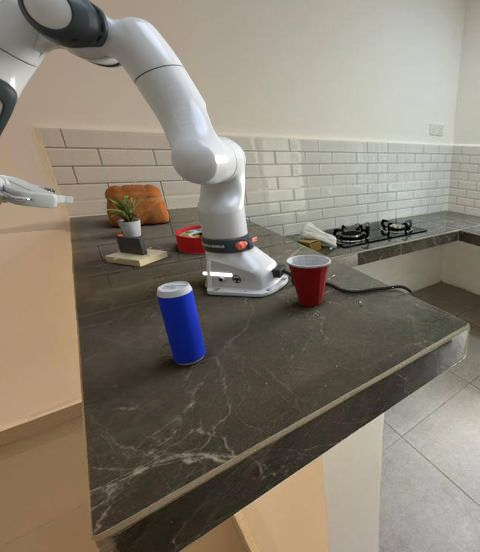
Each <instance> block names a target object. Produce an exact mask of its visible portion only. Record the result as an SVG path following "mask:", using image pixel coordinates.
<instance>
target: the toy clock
mask: <svg viewBox="0 0 480 552" xmlns="http://www.w3.org/2000/svg"><path fill="white" fill-rule="evenodd" d="M174 236H175V239H176V246H177V249H178V251H179V252H181V253H183V254H184V253H185V254H189V255H206V254H205V250H204V249H203V246H202V240H201V236H202V230H201V225H200V224H197V225H192V226H187V227H182V228H180V229H178V230H176V231H175V232H174Z"/></svg>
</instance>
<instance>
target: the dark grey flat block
mask: <svg viewBox="0 0 480 552" xmlns="http://www.w3.org/2000/svg"><path fill="white" fill-rule="evenodd" d="M115 239H116V242H117V246H118V250H119V252H123V253H130V254H137V255H146V254H148V253H147V249H148V248H147V245H146V242H145V237H141V236H138V237H134V236H126V235H124V234H123V233H122V234H121V233H120V234H116V235H115Z"/></svg>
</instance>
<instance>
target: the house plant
mask: <svg viewBox="0 0 480 552" xmlns="http://www.w3.org/2000/svg"><path fill="white" fill-rule="evenodd" d="M128 197H129V196H128V195H127V196H126V197H125V196H124V200H123V203H124V206H123V204H122V203H121V202H120V201H119V200H118V199H116V198H115V200H116V201H117V202H115V201H113V200H111V199H109V200H111V201H112V202H113V203H114V204H115V207H116V206H117V207H118V209H119V210H117V209H116V208H115V209H107V208H106V209H105V208H103V209H102V210H104V211H107V210H110V211H112V212H115V213H116V214H113V213H112V216H111V215H109V216H111V218H112V217H113V216H115V215H116V216H117V215H118V217H119V216H120V218H121V217H122V218H123V219H122V218H121V219H122V220H118V221H117V222H118V224H119V226H120V227H119V228H120V231H121V232H122V235H126V236H134V237H141V236H142V229H141V226H142V225H140V219H136V218H135V216H137V215H134V209H135V207H136V206H137V204H138V203H139V202H140V201H139V202H138V203H137V204H136V205H135V207H134V204H135V202H136V201H135V199H134V202H133V203H132V198H131V201H130V207H128ZM107 199H108V198H107ZM107 199H106V200H107ZM104 204H107V201H104ZM108 205H109V204H108ZM111 205H112V204H111ZM111 205H110V206H111ZM113 206H114V205H113ZM113 206H112V207H113ZM113 208H114V207H113ZM141 210H146V209H141ZM139 211H140V210H139ZM137 212H138V211H137ZM137 212H136V213H137ZM110 213H111V212H110ZM118 213H119V214H118ZM120 213H122V214H123V215H124V216H123V215H122V214H120ZM136 213H135V214H136ZM109 216H108V215H107V217H109Z"/></svg>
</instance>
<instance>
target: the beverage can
mask: <svg viewBox="0 0 480 552" xmlns="http://www.w3.org/2000/svg"><path fill="white" fill-rule="evenodd" d="M156 298H157V302H158V306H159V309H160V313H161V317H162V321H163V324H164V329H165V332H166V336H167V339H168V344H169V348H170V351H171V355H172V358H173V362H174V363H176V364H177V365H179V366H191V365H194V364H196V363H198V362H201V360H202V359H203V358H204V357H205V356H206V354H207V350H206V346H205V341H204V336H203V333H202V332H203V331H202V328H201V322H200V319H199V314H198V309H197V305H196V300H195V295H194V290H193V287H192V286H191V284H190V283H189V282H188V281H186V280H185V281H184V280H179V281H178V280H176V281H175V280H174V281H170V282H166V283H163V284H161V285H159V286H158V287H157V289H156Z"/></svg>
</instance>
